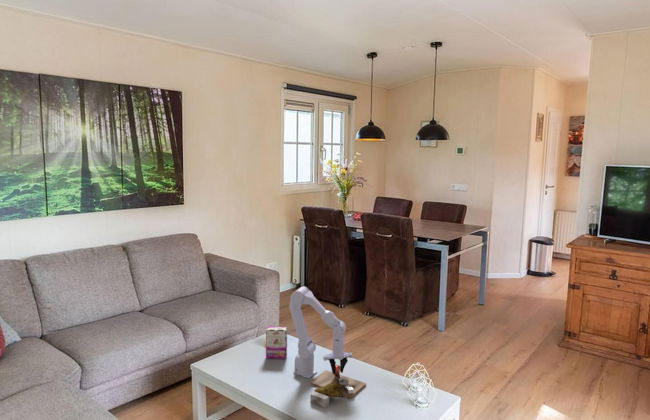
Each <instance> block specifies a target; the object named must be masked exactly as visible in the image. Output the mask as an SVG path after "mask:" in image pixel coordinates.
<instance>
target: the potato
mask: <svg viewBox="0 0 650 420" xmlns="http://www.w3.org/2000/svg"><path fill="white" fill-rule="evenodd" d="M314 391H315V392H318V393H320V394H323V395H326V396H329V399H333V398H340V397H341V394H342V392H343V386H342V385H341V384H340V383H337V382H334V383H330V384H328V385H326V386H322V387H319V388H318V387H315V389H314Z"/></svg>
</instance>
